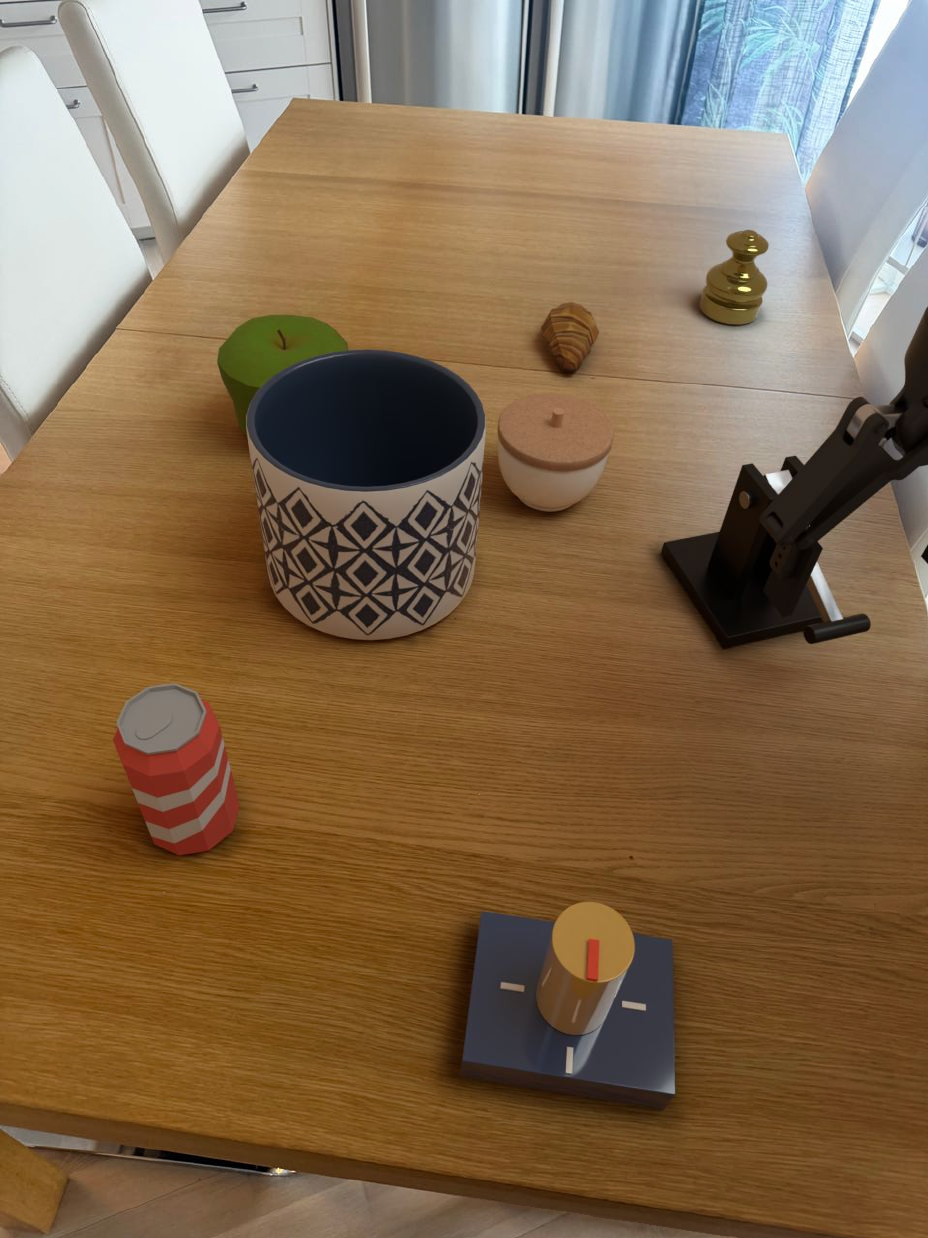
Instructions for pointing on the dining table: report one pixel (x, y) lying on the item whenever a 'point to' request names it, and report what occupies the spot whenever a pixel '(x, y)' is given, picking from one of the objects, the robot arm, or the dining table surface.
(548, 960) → the valve knob
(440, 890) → the dining table surface
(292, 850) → the dining table surface
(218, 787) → the beverage can
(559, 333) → the croissant
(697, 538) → the black angular piece
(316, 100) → the dining table surface
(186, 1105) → the dining table surface
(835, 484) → the robot arm
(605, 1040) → the valve plate
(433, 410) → the planter
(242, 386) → the apple
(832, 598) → the faucet lever
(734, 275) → the gold metal turned piece
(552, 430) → the trinket box
